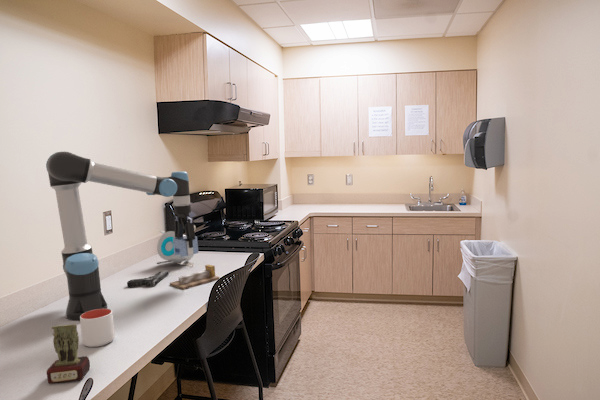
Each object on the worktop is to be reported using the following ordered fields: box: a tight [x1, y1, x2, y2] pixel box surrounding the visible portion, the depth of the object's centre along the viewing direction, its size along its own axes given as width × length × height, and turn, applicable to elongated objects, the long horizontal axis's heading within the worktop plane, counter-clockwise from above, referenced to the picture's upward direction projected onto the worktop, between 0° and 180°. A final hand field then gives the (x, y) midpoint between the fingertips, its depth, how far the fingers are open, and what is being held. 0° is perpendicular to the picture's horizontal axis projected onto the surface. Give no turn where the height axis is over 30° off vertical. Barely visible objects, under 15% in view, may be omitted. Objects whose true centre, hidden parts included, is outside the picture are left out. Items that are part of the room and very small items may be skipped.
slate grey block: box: [173, 235, 199, 257], centre depth 220 cm, size 9×6×8 cm
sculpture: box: [46, 324, 91, 384], centre depth 134 cm, size 10×8×15 cm
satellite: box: [156, 224, 197, 268], centre depth 262 cm, size 23×20×25 cm
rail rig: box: [169, 264, 221, 290], centre depth 224 cm, size 20×12×6 cm, turn 136°
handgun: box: [126, 270, 170, 289], centre depth 230 cm, size 20×3×14 cm
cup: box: [79, 308, 116, 348], centre depth 158 cm, size 10×10×10 cm
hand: (186, 253), depth 220 cm, fingers closed on slate grey block, 6 cm apart
